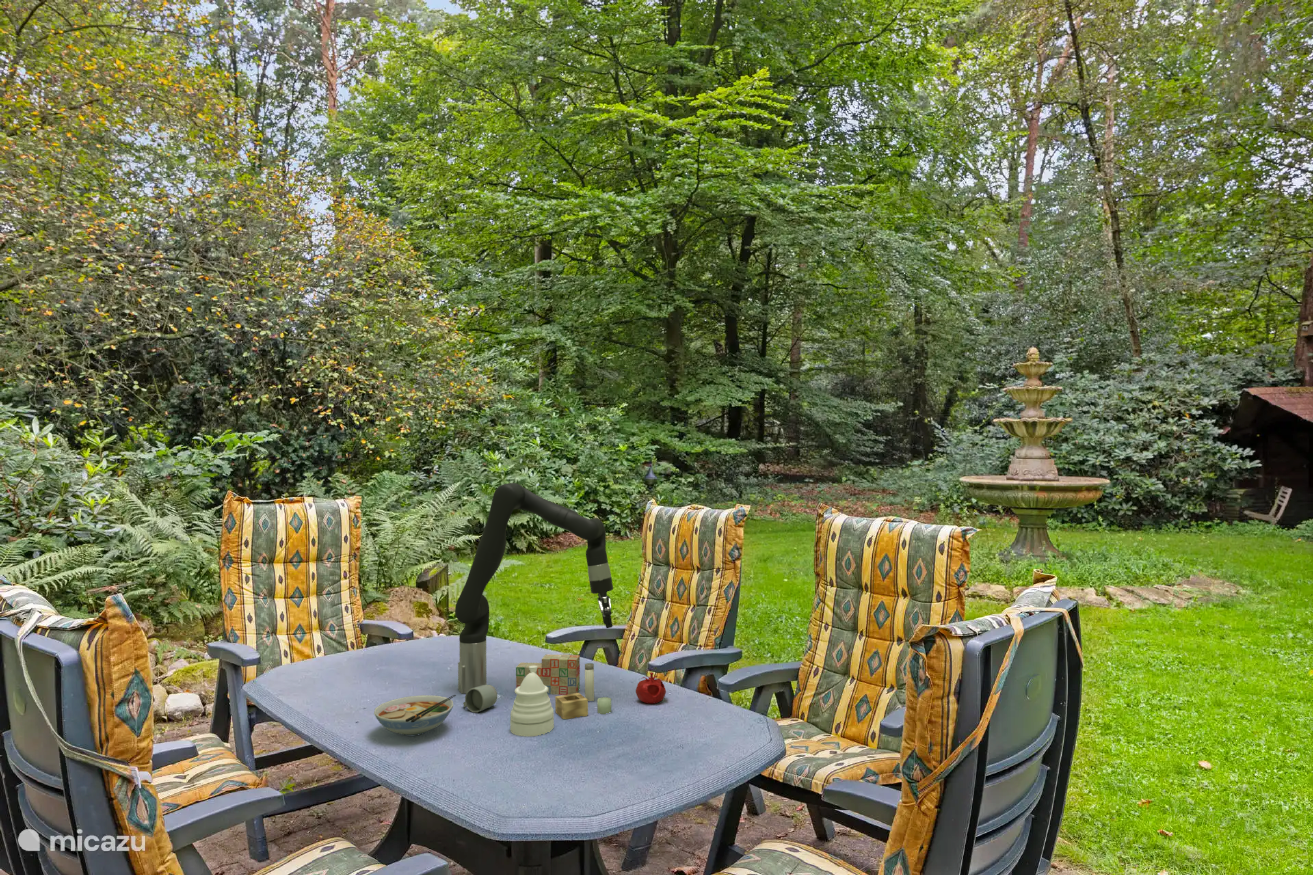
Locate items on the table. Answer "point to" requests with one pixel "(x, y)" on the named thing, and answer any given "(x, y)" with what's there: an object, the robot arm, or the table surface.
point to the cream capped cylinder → (589, 681)
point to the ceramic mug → (480, 698)
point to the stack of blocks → (554, 673)
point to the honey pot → (531, 707)
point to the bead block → (571, 706)
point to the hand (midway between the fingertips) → (608, 625)
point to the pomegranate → (650, 690)
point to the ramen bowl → (413, 713)
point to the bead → (604, 705)
